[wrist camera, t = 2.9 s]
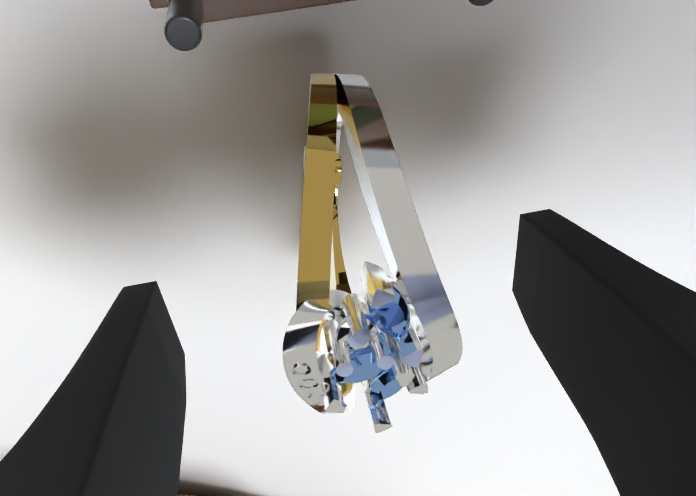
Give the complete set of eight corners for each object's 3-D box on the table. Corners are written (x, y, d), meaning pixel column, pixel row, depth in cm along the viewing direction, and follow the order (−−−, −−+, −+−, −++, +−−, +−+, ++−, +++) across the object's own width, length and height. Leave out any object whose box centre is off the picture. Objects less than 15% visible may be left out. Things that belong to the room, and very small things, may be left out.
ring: (256, 22, 14) (289, 218, 8) (391, 24, 14) (527, 209, 8) (260, 261, 18) (284, 516, 12) (365, 256, 19) (442, 495, 12)
